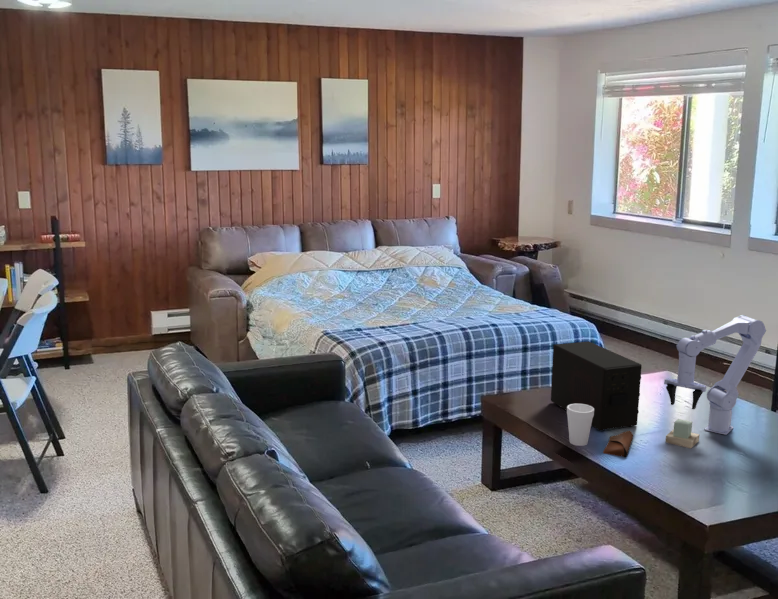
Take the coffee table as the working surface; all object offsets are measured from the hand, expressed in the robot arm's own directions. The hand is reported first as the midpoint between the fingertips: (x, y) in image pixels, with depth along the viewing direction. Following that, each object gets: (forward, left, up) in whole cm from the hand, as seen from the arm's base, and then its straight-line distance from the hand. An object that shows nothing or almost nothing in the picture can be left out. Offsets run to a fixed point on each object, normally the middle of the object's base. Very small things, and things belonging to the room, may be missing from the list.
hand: (683, 406), depth 291 cm
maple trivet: (+8, +3, -11) cm, 14 cm away
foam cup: (+32, -26, -11) cm, 43 cm away
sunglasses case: (+27, -13, -11) cm, 32 cm away
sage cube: (+9, +3, -8) cm, 12 cm away
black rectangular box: (+2, -32, -11) cm, 34 cm away
